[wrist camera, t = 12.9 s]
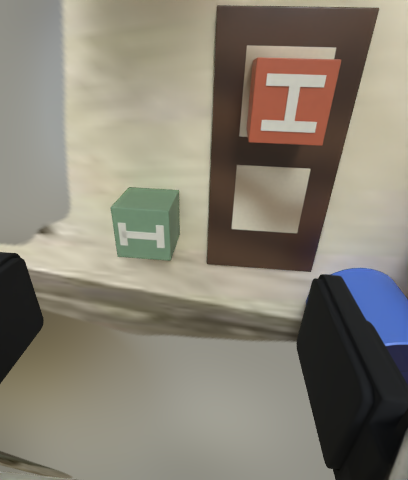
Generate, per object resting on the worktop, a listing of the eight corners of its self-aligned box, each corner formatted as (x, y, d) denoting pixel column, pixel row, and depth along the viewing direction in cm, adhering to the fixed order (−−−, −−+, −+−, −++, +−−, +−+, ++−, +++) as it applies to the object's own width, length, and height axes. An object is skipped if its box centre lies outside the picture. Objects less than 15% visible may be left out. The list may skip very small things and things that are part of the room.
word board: (217, 6, 19) (216, 4, 18) (375, 9, 18) (380, 7, 18) (207, 260, 29) (206, 264, 28) (309, 268, 28) (311, 272, 28)
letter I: (128, 187, 26) (109, 207, 22) (179, 190, 26) (168, 211, 22) (133, 231, 28) (117, 257, 24) (179, 234, 28) (170, 261, 24)
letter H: (252, 60, 20) (257, 57, 16) (320, 61, 19) (342, 59, 16) (246, 130, 22) (248, 142, 18) (306, 132, 22) (323, 146, 18)
